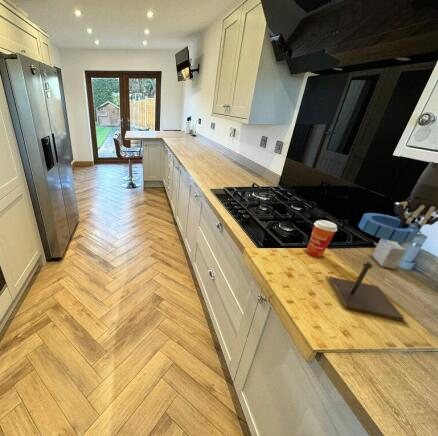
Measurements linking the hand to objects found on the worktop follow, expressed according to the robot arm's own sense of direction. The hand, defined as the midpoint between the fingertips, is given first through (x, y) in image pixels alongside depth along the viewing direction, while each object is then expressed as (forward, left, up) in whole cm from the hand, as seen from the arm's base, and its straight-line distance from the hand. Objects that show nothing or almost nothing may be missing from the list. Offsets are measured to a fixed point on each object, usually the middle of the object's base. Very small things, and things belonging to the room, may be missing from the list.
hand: (405, 233), depth 78 cm
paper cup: (+19, -8, -18) cm, 28 cm away
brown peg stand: (+12, +16, -18) cm, 27 cm away
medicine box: (-6, -11, -18) cm, 22 cm away
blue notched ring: (+6, 0, -1) cm, 6 cm away
